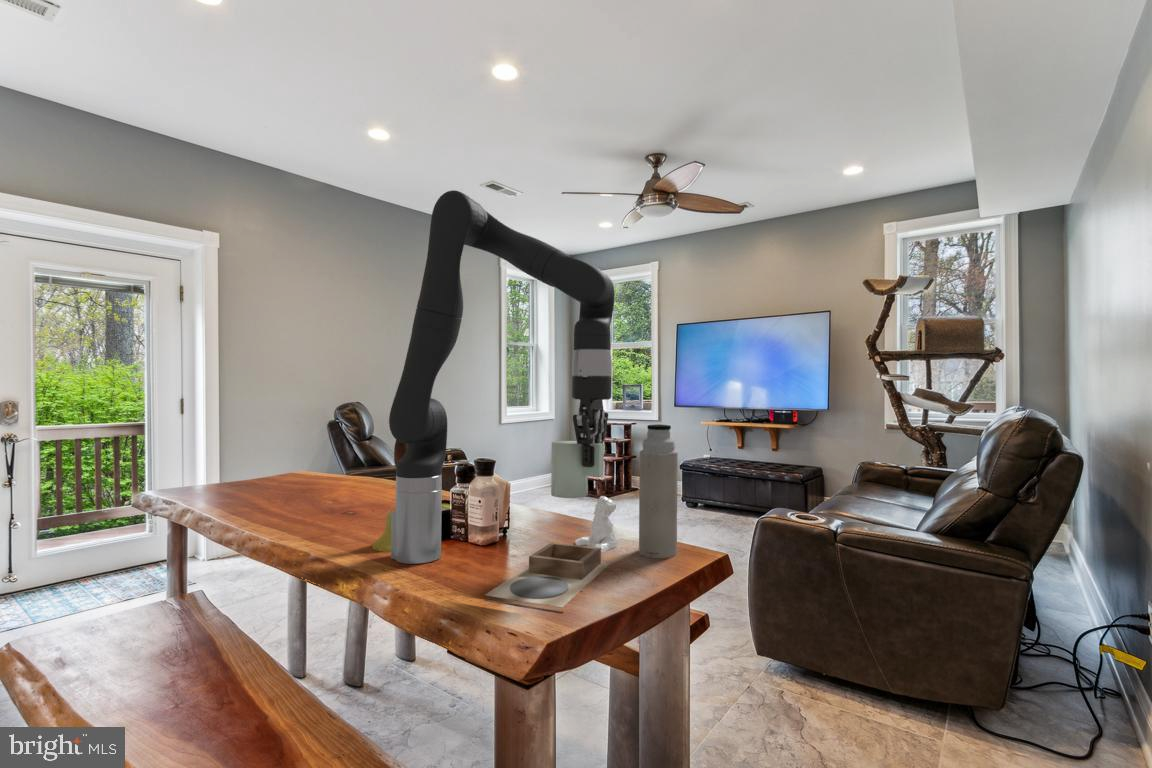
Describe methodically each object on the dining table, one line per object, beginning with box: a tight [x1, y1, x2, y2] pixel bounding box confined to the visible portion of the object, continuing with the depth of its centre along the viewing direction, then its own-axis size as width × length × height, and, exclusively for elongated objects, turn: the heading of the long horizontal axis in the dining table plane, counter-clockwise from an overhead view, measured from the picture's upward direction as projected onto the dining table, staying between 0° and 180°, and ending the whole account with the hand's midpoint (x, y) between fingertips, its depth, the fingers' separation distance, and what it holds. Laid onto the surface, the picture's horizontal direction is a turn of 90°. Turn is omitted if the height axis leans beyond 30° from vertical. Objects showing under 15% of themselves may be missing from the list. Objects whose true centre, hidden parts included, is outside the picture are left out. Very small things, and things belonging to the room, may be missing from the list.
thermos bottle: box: [638, 423, 679, 559], centre depth 120 cm, size 8×8×28 cm
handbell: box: [372, 439, 408, 553], centre depth 128 cm, size 12×12×25 cm
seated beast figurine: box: [574, 495, 620, 554], centre depth 124 cm, size 10×9×12 cm
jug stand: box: [483, 541, 610, 615], centre depth 103 cm, size 14×24×4 cm, turn 159°
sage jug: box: [550, 440, 605, 499], centre depth 108 cm, size 10×7×10 cm
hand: (590, 465), depth 107 cm, fingers closed on sage jug, 2 cm apart
